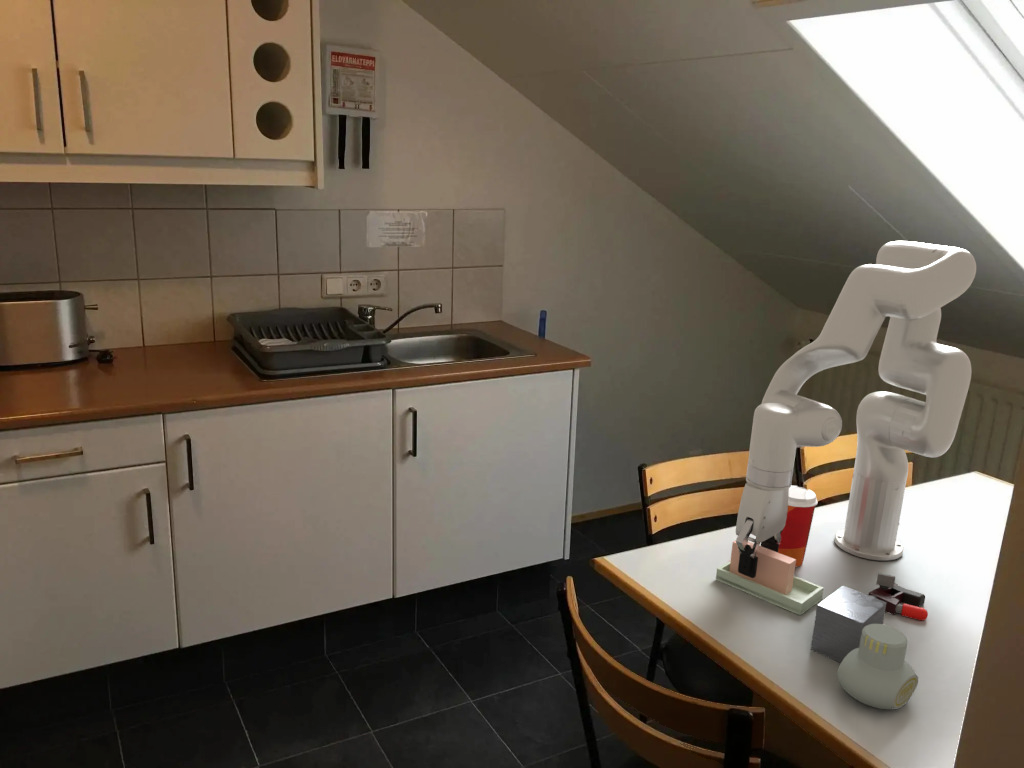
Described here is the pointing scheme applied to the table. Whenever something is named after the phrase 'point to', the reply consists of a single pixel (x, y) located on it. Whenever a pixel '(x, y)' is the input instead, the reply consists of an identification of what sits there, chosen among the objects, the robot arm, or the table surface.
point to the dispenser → (844, 622)
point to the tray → (794, 601)
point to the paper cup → (797, 523)
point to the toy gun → (899, 598)
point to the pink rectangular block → (768, 568)
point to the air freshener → (879, 669)
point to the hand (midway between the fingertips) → (757, 567)
